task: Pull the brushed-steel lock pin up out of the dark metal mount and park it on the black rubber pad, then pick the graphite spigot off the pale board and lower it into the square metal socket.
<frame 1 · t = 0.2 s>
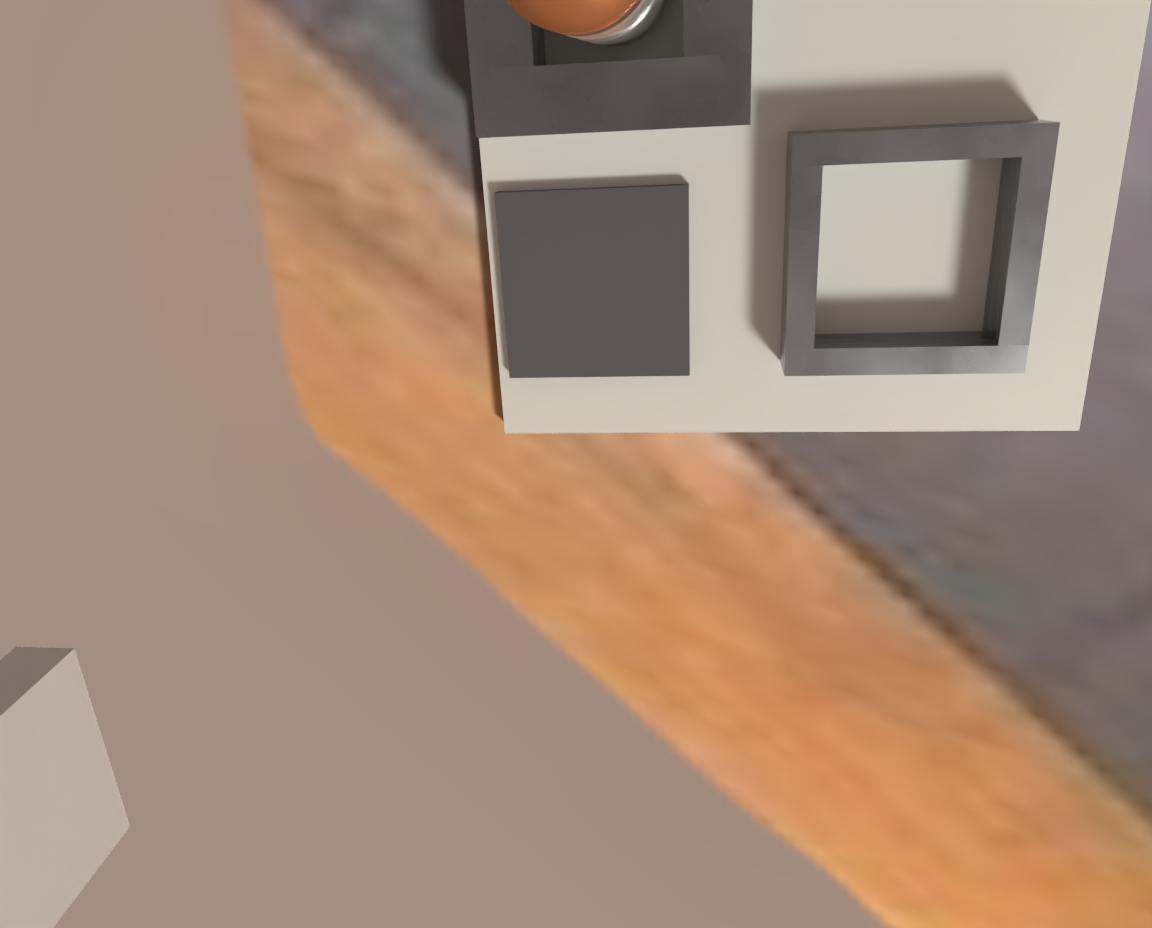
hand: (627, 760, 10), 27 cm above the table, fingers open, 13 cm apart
dock board: (789, 102, 32), on the table
socket: (900, 247, 33), resting on dock board
pin pad: (595, 283, 35), resting on dock board
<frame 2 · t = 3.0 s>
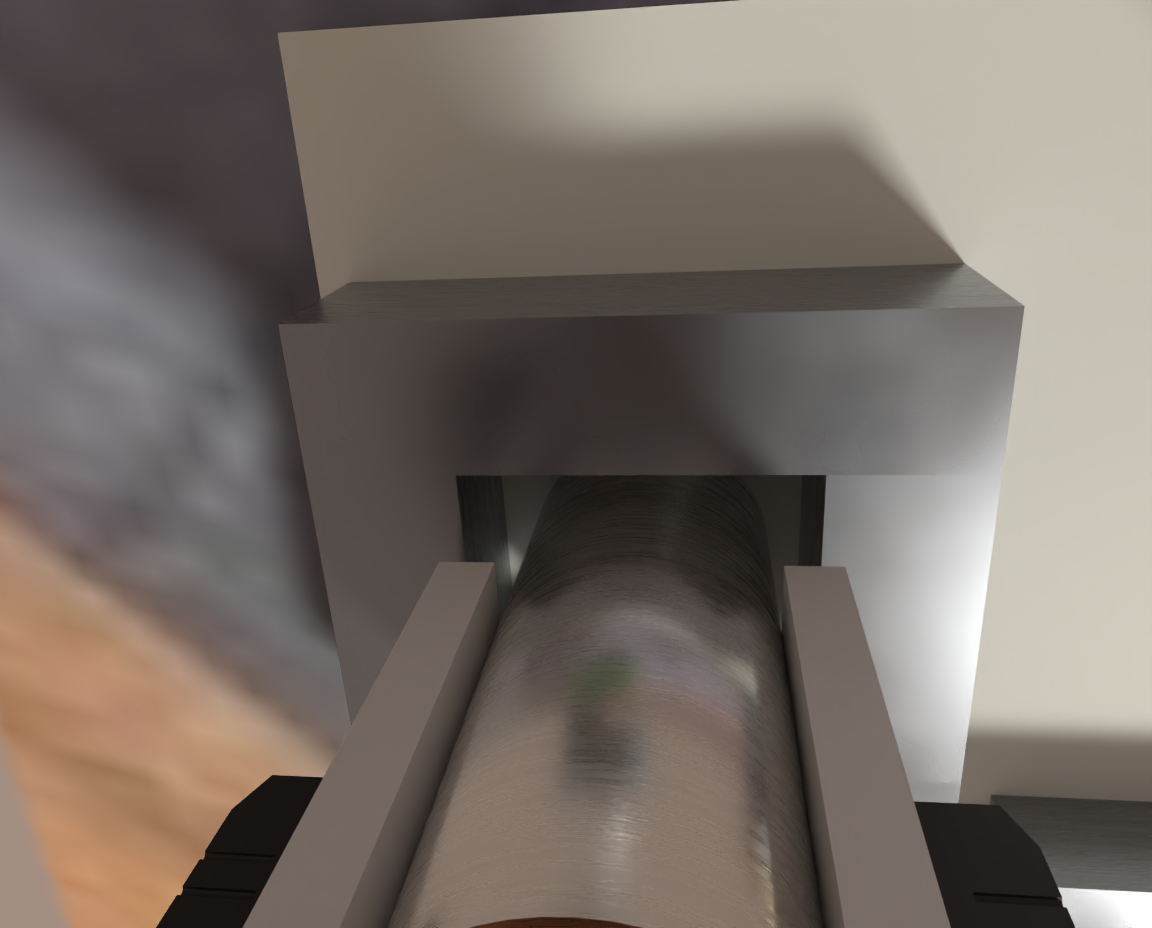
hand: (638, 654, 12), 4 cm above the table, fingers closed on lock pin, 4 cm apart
dock board: (989, 724, 17), on the table
lock pin: (625, 778, 10), in the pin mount, point 6 cm above the table, touching dock board, gripper
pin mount: (646, 585, 14), on the dock board, point 2 cm above the table
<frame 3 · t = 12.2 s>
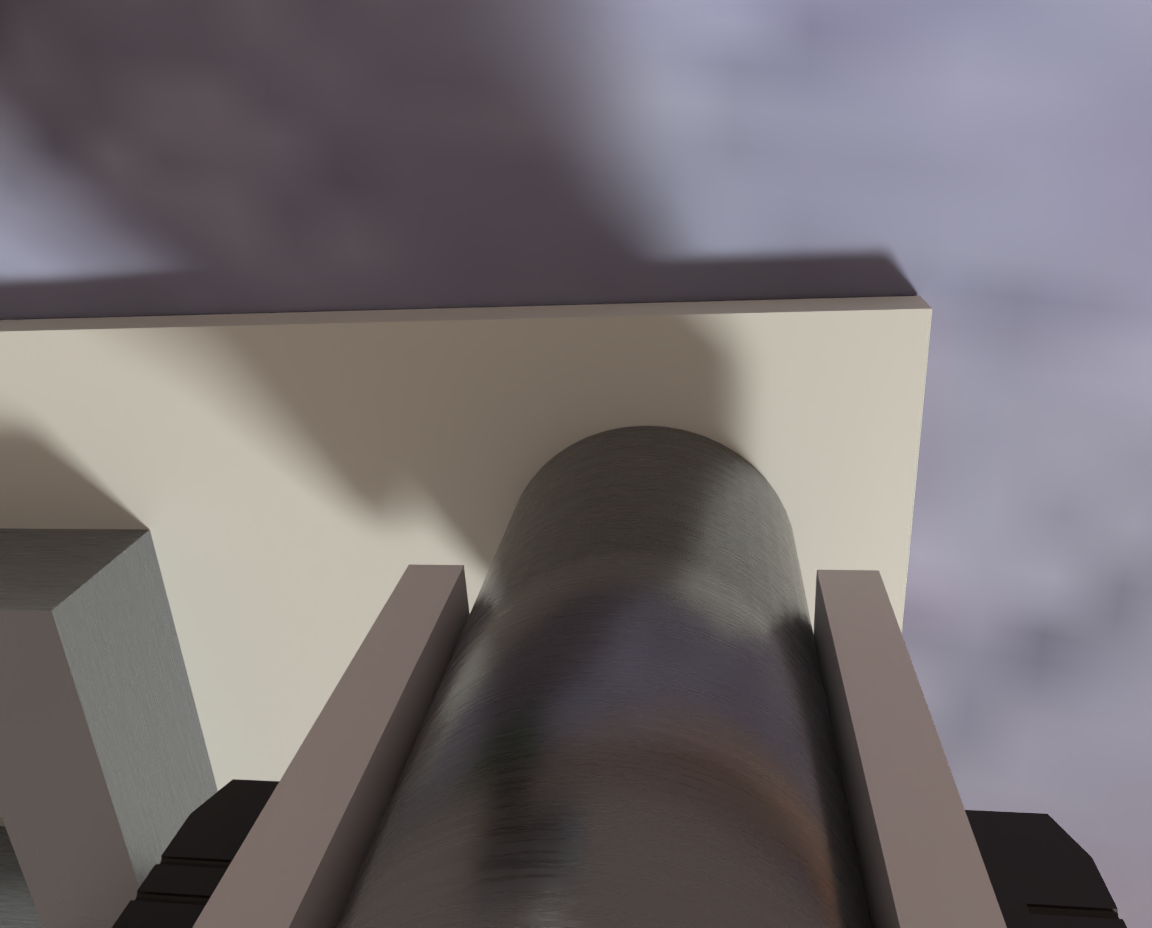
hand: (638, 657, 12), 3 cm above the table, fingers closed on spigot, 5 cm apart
dock board: (329, 871, 19), on the table
spigot: (648, 560, 15), point 1 cm above the table, touching dock board, gripper
when the fingers open (5 cm above the table, at t = 17.6 s): spigot drops 2 cm, resting on dock board.
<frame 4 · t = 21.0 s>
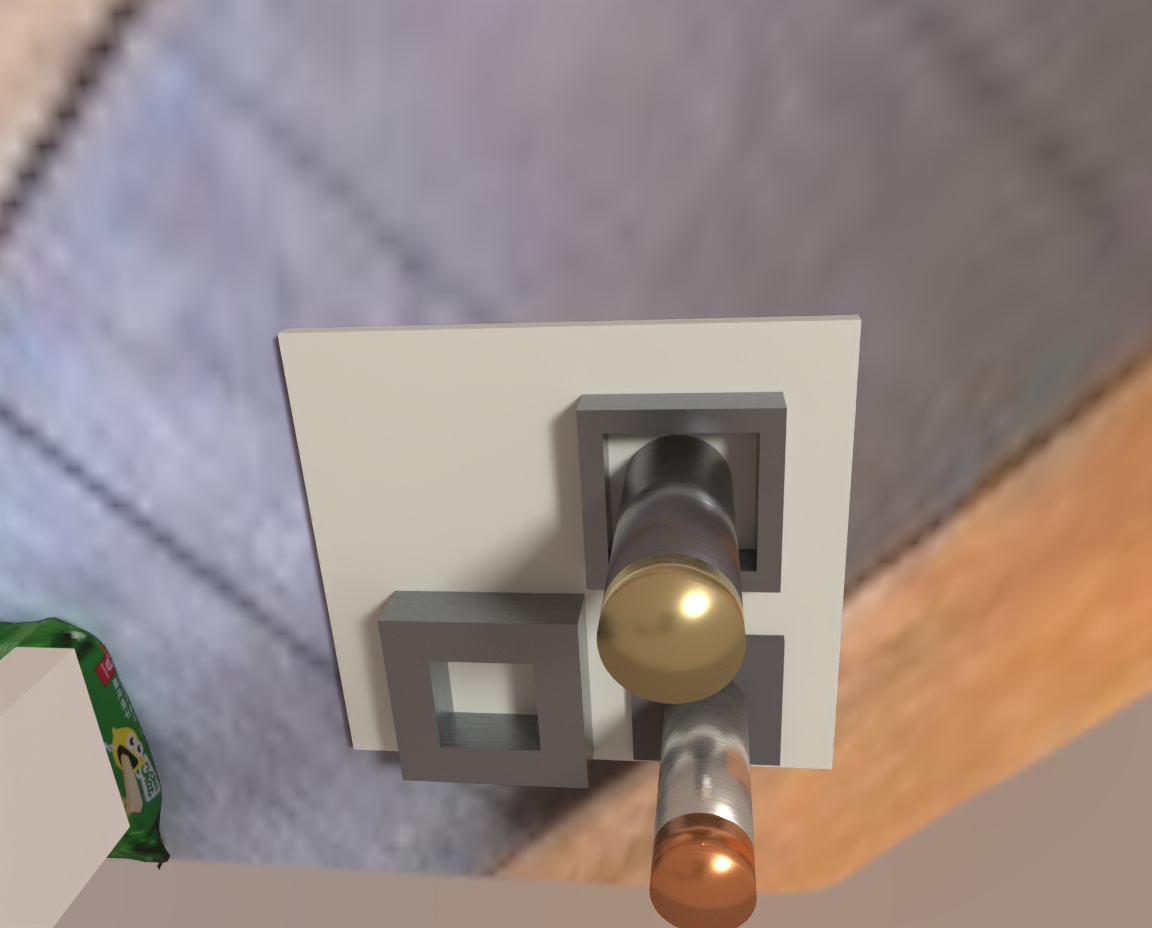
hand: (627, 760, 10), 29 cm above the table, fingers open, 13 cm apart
dock board: (574, 556, 42), on the table
snack package: (100, 715, 50), on the table
lock pin: (704, 788, 38), on the pin pad, point 7 cm above the table
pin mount: (491, 689, 43), on the dock board, point 2 cm above the table
spigot: (678, 484, 39), point 1 cm above the table, touching dock board
socket: (682, 484, 39), resting on dock board
pin pad: (705, 696, 43), resting on dock board
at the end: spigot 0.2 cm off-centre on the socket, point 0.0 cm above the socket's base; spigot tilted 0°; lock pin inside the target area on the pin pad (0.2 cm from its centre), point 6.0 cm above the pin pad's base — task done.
